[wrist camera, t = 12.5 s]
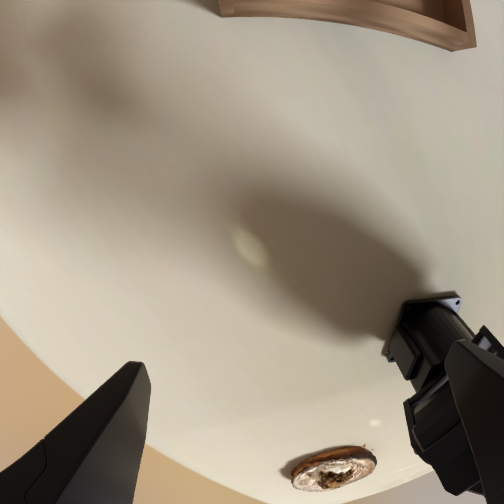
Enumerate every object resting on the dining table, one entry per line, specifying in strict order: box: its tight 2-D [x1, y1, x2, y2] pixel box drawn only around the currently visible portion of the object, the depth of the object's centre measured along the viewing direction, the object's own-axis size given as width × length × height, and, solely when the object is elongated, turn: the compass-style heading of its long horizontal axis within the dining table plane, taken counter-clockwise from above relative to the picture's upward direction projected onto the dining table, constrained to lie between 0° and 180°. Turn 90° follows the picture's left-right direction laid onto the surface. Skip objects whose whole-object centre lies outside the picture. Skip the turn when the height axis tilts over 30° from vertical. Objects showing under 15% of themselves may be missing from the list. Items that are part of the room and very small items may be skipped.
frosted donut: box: [291, 443, 377, 492], centre depth 33 cm, size 15×15×4 cm
